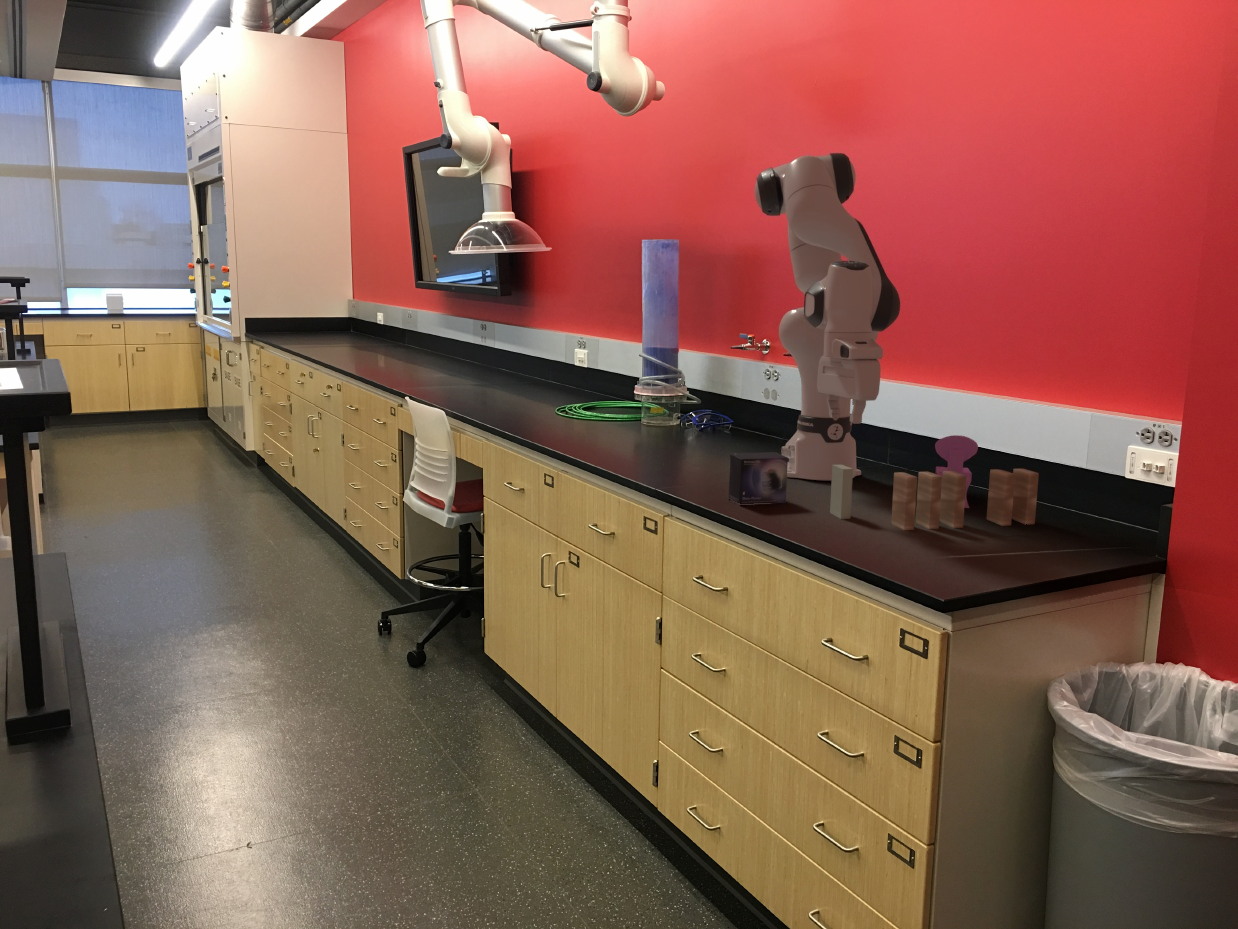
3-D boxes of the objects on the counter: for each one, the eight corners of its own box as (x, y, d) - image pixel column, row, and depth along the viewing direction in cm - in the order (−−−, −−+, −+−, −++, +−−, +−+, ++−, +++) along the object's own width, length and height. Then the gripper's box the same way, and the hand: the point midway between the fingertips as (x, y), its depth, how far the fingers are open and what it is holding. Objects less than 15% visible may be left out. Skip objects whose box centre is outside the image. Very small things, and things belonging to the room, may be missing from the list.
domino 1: (840, 520, 190) (843, 469, 188) (829, 514, 195) (832, 464, 193) (850, 519, 190) (852, 468, 189) (839, 514, 195) (841, 464, 194)
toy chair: (969, 502, 208) (974, 431, 206) (975, 510, 200) (980, 437, 197) (928, 500, 210) (933, 430, 207) (932, 508, 201) (937, 435, 199)
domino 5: (1001, 526, 186) (1005, 474, 185) (986, 520, 191) (990, 469, 189) (1010, 525, 187) (1015, 473, 185) (995, 520, 191) (999, 469, 190)
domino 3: (928, 529, 183) (932, 476, 181) (915, 523, 188) (918, 471, 186) (938, 529, 184) (942, 476, 182) (925, 523, 188) (928, 471, 187)
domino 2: (904, 530, 182) (907, 477, 180) (891, 524, 187) (894, 472, 185) (914, 530, 182) (917, 477, 181) (900, 524, 187) (903, 472, 186)
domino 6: (1025, 525, 187) (1029, 473, 186) (1009, 519, 192) (1013, 468, 190) (1034, 524, 188) (1038, 473, 186) (1018, 519, 192) (1022, 468, 191)
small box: (739, 509, 199) (741, 458, 197) (727, 503, 205) (728, 453, 203) (787, 506, 202) (789, 456, 200) (773, 500, 208) (775, 451, 206)
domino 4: (953, 528, 184) (956, 475, 182) (939, 522, 189) (942, 471, 187) (963, 528, 185) (966, 475, 183) (948, 522, 189) (952, 470, 188)
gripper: (810, 346, 196) (808, 415, 199) (855, 350, 177) (852, 426, 179) (839, 345, 198) (837, 414, 200) (887, 349, 178) (884, 426, 180)
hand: (844, 420), depth 189 cm, fingers open, 8 cm apart
